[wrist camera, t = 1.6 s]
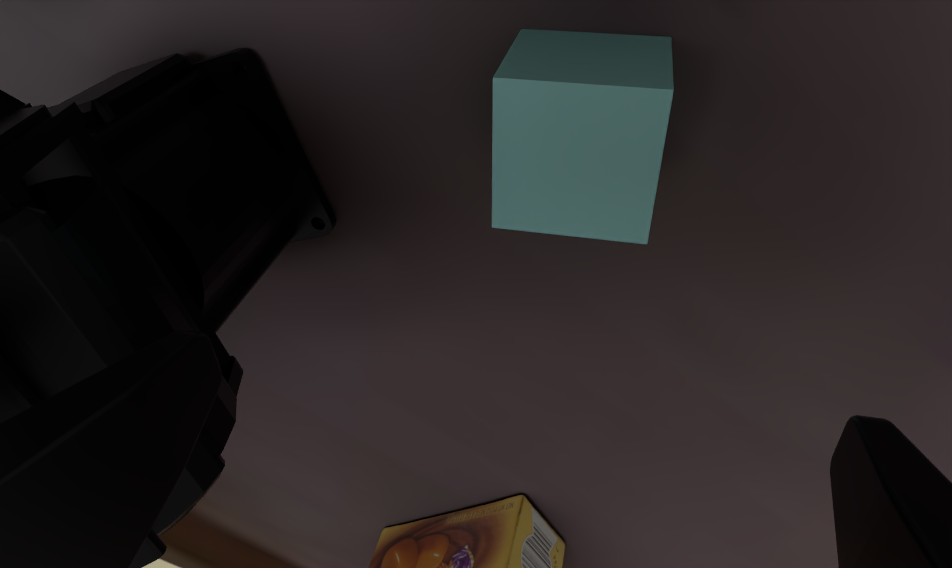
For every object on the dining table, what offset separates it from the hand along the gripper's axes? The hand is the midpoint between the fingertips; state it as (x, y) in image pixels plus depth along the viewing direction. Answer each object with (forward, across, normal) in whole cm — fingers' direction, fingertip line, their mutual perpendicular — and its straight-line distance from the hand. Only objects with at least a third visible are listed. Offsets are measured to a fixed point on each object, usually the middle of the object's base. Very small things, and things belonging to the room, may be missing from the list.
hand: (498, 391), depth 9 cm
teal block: (+12, 0, 0) cm, 12 cm away
